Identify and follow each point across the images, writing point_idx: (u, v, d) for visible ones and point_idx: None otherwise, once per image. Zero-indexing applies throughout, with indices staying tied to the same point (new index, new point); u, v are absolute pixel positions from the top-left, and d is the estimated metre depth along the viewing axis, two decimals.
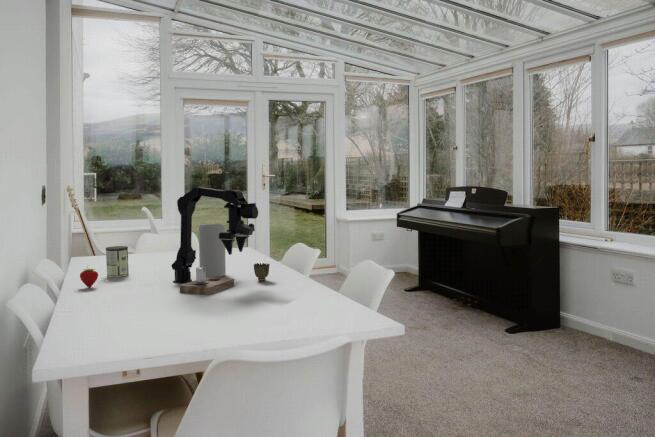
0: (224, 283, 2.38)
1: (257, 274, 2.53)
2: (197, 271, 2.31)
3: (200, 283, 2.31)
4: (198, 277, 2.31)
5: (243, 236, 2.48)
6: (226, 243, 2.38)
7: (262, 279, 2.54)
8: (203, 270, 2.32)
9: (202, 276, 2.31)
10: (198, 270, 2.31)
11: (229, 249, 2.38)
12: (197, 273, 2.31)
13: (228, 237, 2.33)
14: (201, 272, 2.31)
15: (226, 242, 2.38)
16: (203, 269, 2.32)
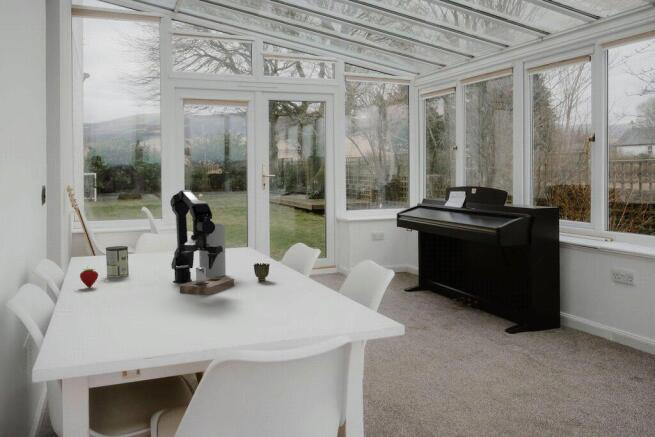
0: (224, 283, 2.38)
1: (257, 274, 2.53)
2: (197, 271, 2.31)
3: (200, 283, 2.31)
4: (198, 277, 2.31)
5: None
6: None
7: (262, 279, 2.54)
8: (203, 270, 2.32)
9: (202, 276, 2.31)
10: (198, 270, 2.31)
11: None
12: (197, 273, 2.31)
13: None
14: (201, 272, 2.31)
15: None
16: (203, 269, 2.32)
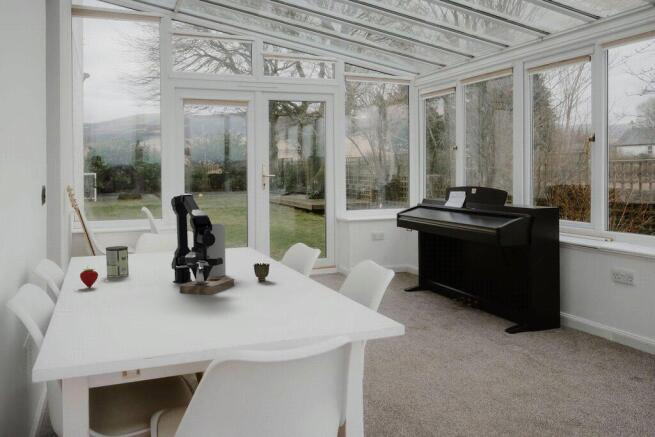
0: (224, 283, 2.38)
1: (257, 274, 2.53)
2: (197, 271, 2.31)
3: (200, 283, 2.31)
4: (198, 277, 2.31)
5: None
6: None
7: (262, 279, 2.54)
8: (203, 270, 2.32)
9: (202, 276, 2.31)
10: (198, 270, 2.31)
11: None
12: (197, 273, 2.31)
13: None
14: (201, 272, 2.31)
15: None
16: (203, 269, 2.32)
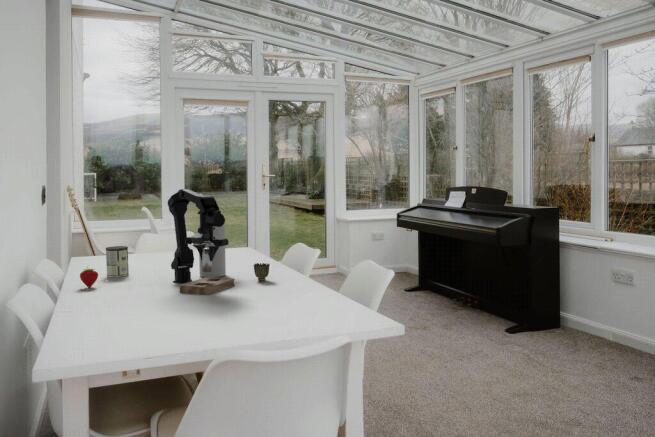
0: (224, 283, 2.38)
1: (257, 274, 2.53)
2: (203, 251, 2.36)
3: (206, 263, 2.36)
4: (204, 257, 2.36)
5: None
6: None
7: (262, 279, 2.54)
8: (209, 251, 2.36)
9: (208, 256, 2.36)
10: (204, 250, 2.35)
11: None
12: (203, 253, 2.36)
13: None
14: (207, 252, 2.35)
15: None
16: (209, 250, 2.36)
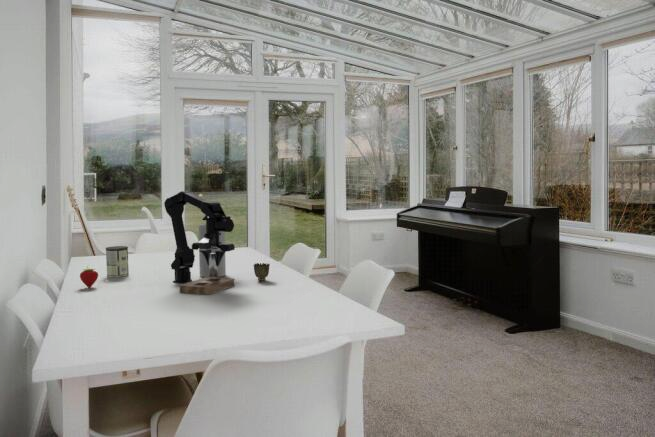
0: (224, 283, 2.38)
1: (257, 274, 2.53)
2: (210, 257, 2.40)
3: (212, 268, 2.40)
4: (211, 262, 2.40)
5: None
6: None
7: (262, 279, 2.54)
8: (215, 256, 2.41)
9: (214, 261, 2.40)
10: (211, 256, 2.40)
11: None
12: (210, 258, 2.40)
13: None
14: (214, 257, 2.40)
15: None
16: (215, 255, 2.41)
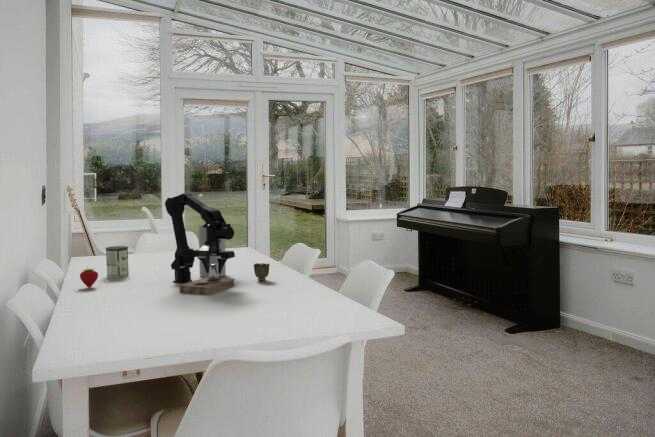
0: (224, 283, 2.38)
1: (257, 274, 2.53)
2: (210, 267, 2.41)
3: (213, 279, 2.41)
4: (211, 273, 2.41)
5: None
6: None
7: (262, 279, 2.54)
8: (215, 266, 2.41)
9: (215, 272, 2.41)
10: (211, 266, 2.40)
11: None
12: (210, 269, 2.41)
13: None
14: (214, 268, 2.40)
15: None
16: (215, 265, 2.41)
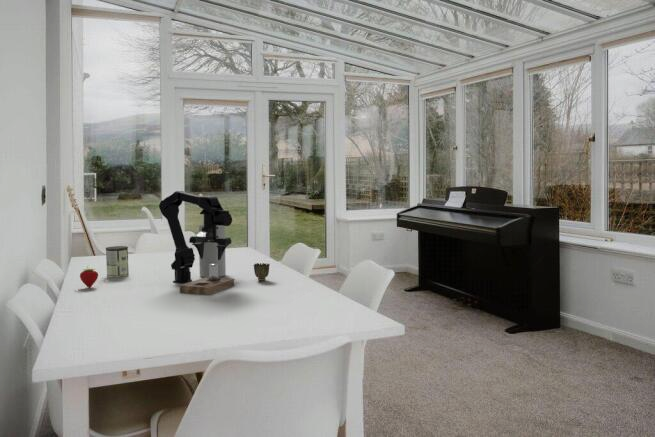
0: (224, 283, 2.38)
1: (257, 274, 2.53)
2: (210, 267, 2.41)
3: (213, 279, 2.41)
4: (211, 273, 2.41)
5: None
6: None
7: (262, 279, 2.54)
8: (216, 266, 2.41)
9: (215, 272, 2.41)
10: (211, 266, 2.40)
11: None
12: (210, 269, 2.41)
13: None
14: (214, 268, 2.40)
15: None
16: (216, 265, 2.41)
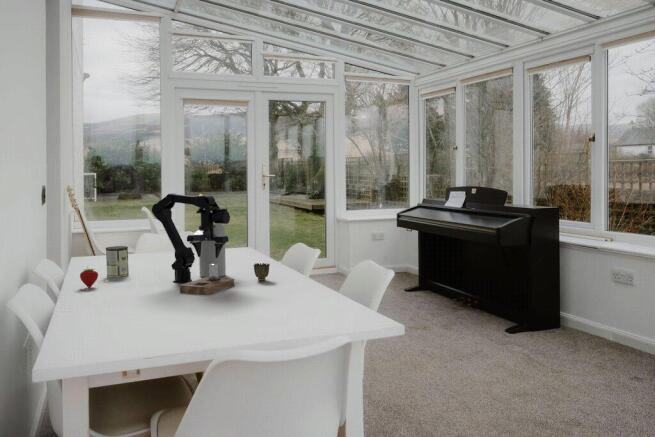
0: (224, 283, 2.38)
1: (257, 274, 2.53)
2: (210, 267, 2.41)
3: (213, 279, 2.41)
4: (211, 273, 2.41)
5: None
6: None
7: (262, 279, 2.54)
8: (216, 266, 2.41)
9: (215, 272, 2.41)
10: (211, 266, 2.40)
11: None
12: (210, 269, 2.41)
13: None
14: (214, 268, 2.40)
15: None
16: (216, 265, 2.41)
